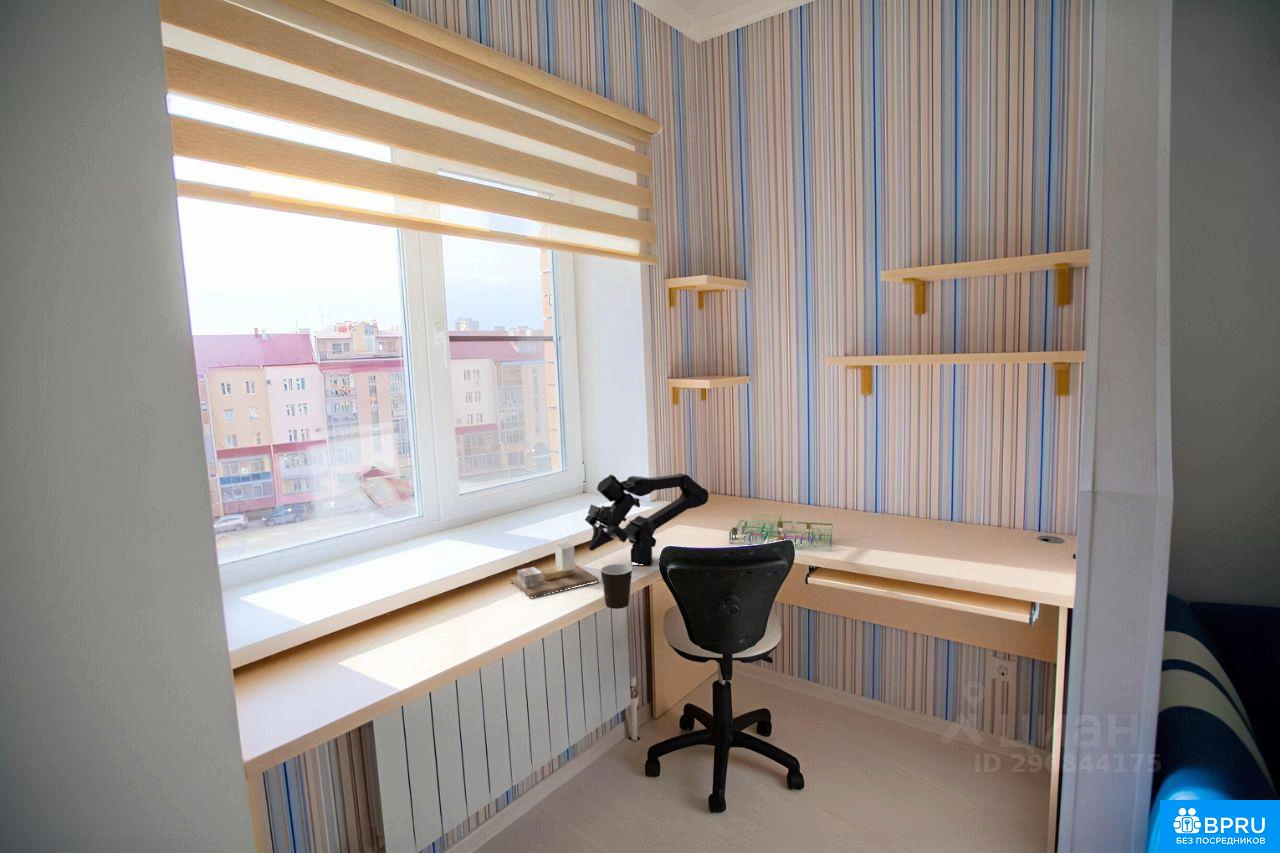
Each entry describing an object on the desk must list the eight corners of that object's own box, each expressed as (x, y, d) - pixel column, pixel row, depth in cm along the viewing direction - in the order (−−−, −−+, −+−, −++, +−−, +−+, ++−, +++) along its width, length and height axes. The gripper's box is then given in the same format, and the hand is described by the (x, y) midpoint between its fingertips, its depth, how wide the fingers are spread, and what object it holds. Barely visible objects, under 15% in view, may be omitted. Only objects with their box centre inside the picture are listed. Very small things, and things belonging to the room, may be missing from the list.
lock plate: (574, 568, 206) (574, 553, 205) (598, 582, 192) (597, 566, 192) (509, 582, 194) (509, 566, 194) (529, 598, 181) (529, 581, 180)
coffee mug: (626, 611, 170) (625, 575, 169) (596, 608, 173) (595, 572, 172) (640, 596, 181) (639, 562, 180) (612, 593, 184) (611, 559, 183)
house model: (729, 545, 229) (729, 532, 228) (742, 524, 256) (742, 513, 256) (830, 553, 217) (830, 539, 217) (833, 530, 245) (833, 518, 245)
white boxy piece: (567, 570, 198) (566, 542, 197) (574, 575, 194) (574, 546, 193) (541, 576, 194) (540, 547, 193) (547, 581, 189) (546, 552, 188)
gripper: (589, 490, 208) (559, 528, 203) (617, 500, 192) (586, 542, 188) (610, 510, 213) (582, 548, 208) (640, 521, 197) (610, 563, 193)
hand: (589, 549), depth 199 cm, fingers closed
